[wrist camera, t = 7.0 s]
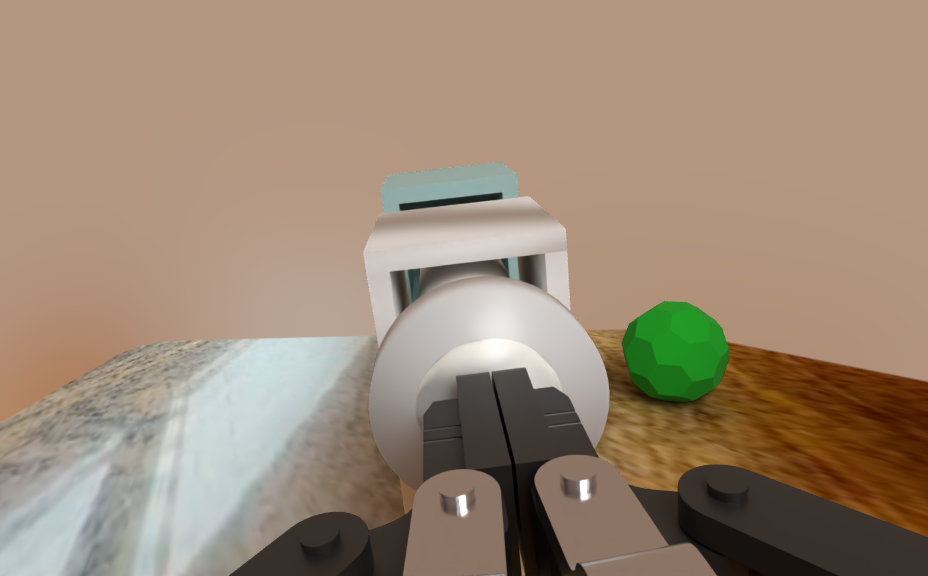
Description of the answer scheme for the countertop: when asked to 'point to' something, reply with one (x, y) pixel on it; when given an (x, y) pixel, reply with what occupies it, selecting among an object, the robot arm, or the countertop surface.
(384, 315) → the sleeve stand
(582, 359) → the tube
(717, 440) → the countertop surface
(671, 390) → the polyhedron
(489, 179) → the socket
